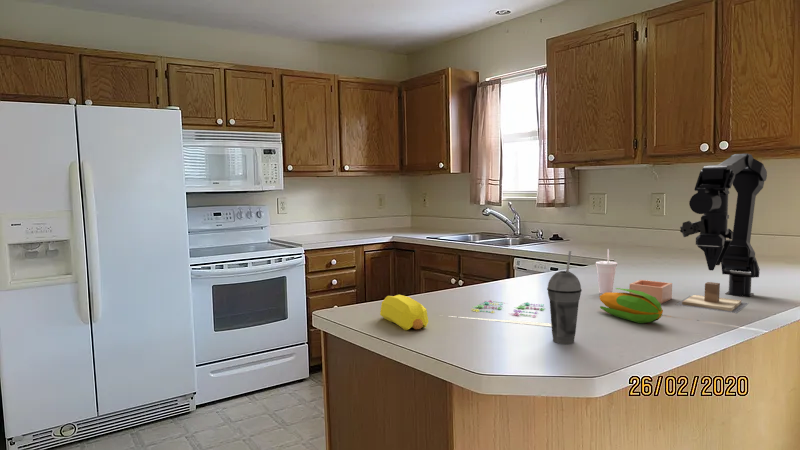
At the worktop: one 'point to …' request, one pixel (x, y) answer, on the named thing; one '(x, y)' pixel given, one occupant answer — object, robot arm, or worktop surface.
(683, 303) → the lid
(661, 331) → the worktop surface
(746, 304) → the mat
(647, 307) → the corn
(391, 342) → the worktop surface
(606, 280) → the smoothie
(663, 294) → the open box
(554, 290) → the beverage cup
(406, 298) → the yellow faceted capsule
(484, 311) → the printed paper
